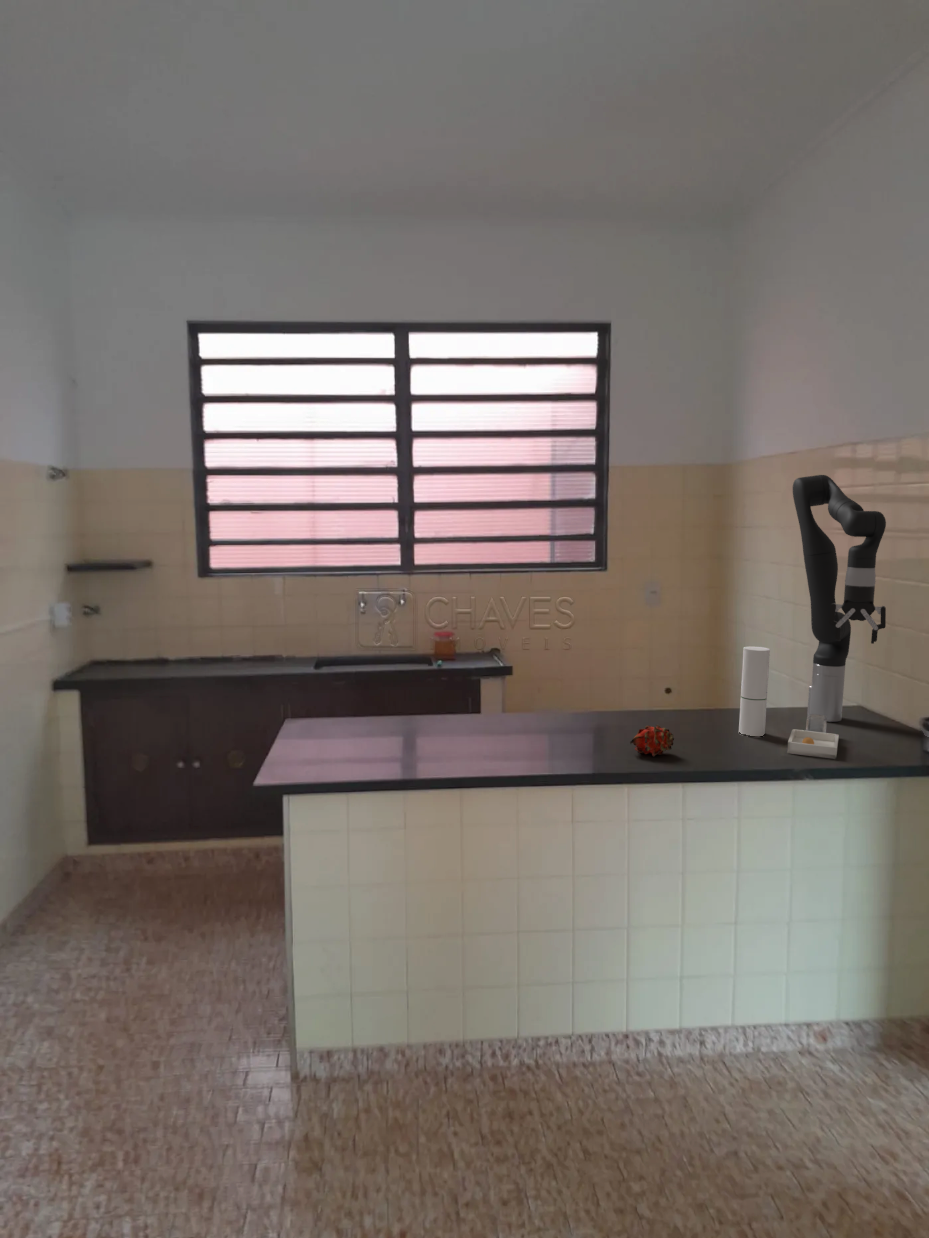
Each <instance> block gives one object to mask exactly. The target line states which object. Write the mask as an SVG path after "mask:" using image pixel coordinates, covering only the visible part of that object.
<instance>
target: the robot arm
mask: <svg viewBox="0 0 929 1238" xmlns="http://www.w3.org/2000/svg"><path fill="white" fill-rule="evenodd" d="M792 499H793V502H794V507H795V510H796V511H795V512H796V515H797V516H796V517H797V519H798V525H799V529H800V535H801V536H800V537H801V543H802V554H803V561H804V567H805V573H806V574H805V575H806V579H807V580H806V581H807V586H808V591H809V592H808V593H809V597H810V616H811V617H810V618H811V621H810V622H811V625H810V626H811V631H812V634H813V636H814V638H815V639H816V640H817V641H818V645H817V648H816V651H815V652H814V653H813V659H812V675H811V676H812V677H811V685H808V686H809V687H808V695H807V696H808V699H807V714H806V715H807V716H808V714H818V715H827V723H828V722H830V723H832V722H841V721H842V714H843V705H844V704H843V702H844V692H845V675H846V660H847V658H848V655H849V653H850V652H849V651H850V644H851V643H850V642H851V632H852V631H851V630H852V626H851V621H859V622H864V621H867V622H868V624H869V625H870V626H871V628H872V629H871V639H870V643H871V644H875V643H876V642H877V640H878V631H879V630H882V629H885V628H886V623H887V621H886V619H887V617H886V616H887V615H886V614H887V613H886V612H887V611H886V610H887V609H886V606H885V605H882V606H875V605H874V603H875V602H874V601H875V588H876V582H877V580H876V576H877V575H876V563H877V562H876V561H877V553H878V550H879V548H880V543H881V541H882V538H883V537H884V534H885V530H886V526H887V521H886V518H885V516H884V513H882V512H881V511H878V510H864V508H863V507H862V506H861V505H860V504H859V503H857V502H856V501H854V500H853V499H851V498H850V497H848V496H847V495H846V494H845V492H844V491H842V489H841V488H840V486H838V485H837V483H836V482H835V481H834V480H833V479H832V478H831V477H830V476H828V475H826V474H817V475H811V476H808V475H807V476H801V477H797V478H795V480H794V481H793V483H792ZM823 505H827V510H828V514H829V516H830V517H831V518H832V519H833V520H834V521H836V522H838V523H839V524H840V526H841V528H842V530H843V532H844V534H846V535H847V536H850V537H854V538H857V537H858V538H859V537H860V538H861V537H862V538H865V539H864V540H863V542H862V543H861V544H856V545H852V546H851V547H850V548H849V549H848V551H847V552H848V553H847V567H846V572H845V579H844V592H843V594H844V595H843V602H842V604H839V603H836V588H837V587H836V586H837V581H838V576H839V575H838V573H839V564H838V556H837V551H836V546H835V544H834V542H833V541H832V540H831V539H830V537H829V536H828V535H827V534H826V533H825V531H823V529H822V528H821V527H820V526H819V525H818V523H817V521H816V520H815V517H814V514H813V511H812V507H817V506H823ZM840 609H841V610H842V612H840V611H839V610H840ZM875 611H876V612H877V614H878V615H880V623H878V624H877V623H876V621H875V620H874V619H873V618H872V614H873V613H874V612H875Z"/></svg>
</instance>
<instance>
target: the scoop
mask: <svg viewBox="0 0 929 1238" xmlns="http://www.w3.org/2000/svg"><path fill="white" fill-rule="evenodd" d="M805 723H806V724H805V731H813V732H822V733H827V725H828V724H827V723H828V721H827V715H818V714H808V715H807V717H806V722H805Z"/></svg>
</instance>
